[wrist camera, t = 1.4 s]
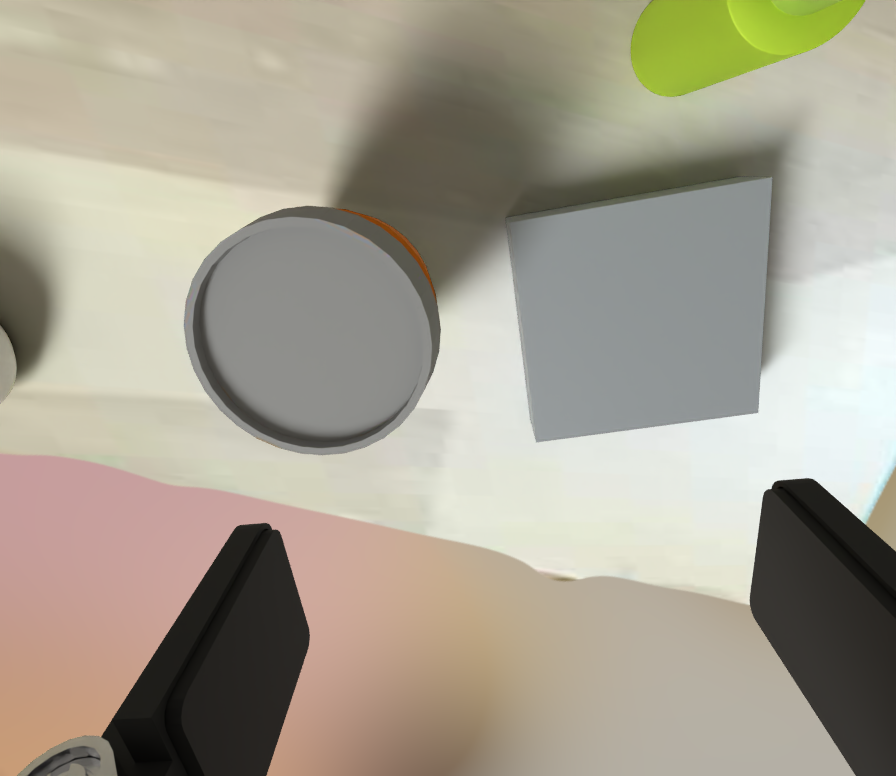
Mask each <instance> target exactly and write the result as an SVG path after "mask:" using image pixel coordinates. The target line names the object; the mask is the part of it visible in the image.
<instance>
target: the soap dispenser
mask: <svg viewBox="0 0 896 776" xmlns="http://www.w3.org/2000/svg"><path fill="white" fill-rule="evenodd" d="M864 2H865V0H653V1H652V2H651V3H650V4H649V5H648V6H647V7H646V8H645V10H644V11H643V13H642V14H641V16H640V18H639V19H638V21H637V24H636V26H635V29H634V32H633V36H632V41H631V60H632V65H633V68H634V71H635V73H636V75H637V77H638V79H639V80H640V82H641V83H642V84H643V85H644V86H645V87H646V88H647V89H648V90H650V91H651V92H653V93H655V94H658V95H661V96H667V97H674V96H681V95H684V94H687V93H690V92H693V91H696V90H699V89H701V88H704V87H707V86H710V85H713V84H716V83H718V82H721V81H724V80H727V79H730V78H733V77H736V76H738V75H741V74H744V73H747V72H750V71H753V70H755V69H758V68H761V67H764V66H767V65H770V64H772V63H775V62H778V61H781V60H784V59H787V58H790V57H792V56H795V55H798V54H801V53H804V52H807V51H809V50H812V49H814V48H816V47H818V46H820V45H822V44H824V43H825V42H827V41H828V40H830V39H831V38H833V37H834V36H835V35H836V34H838V33H839V32H840V31H841V30H842V29H843V28H844V27H845V26H846V25H847V24H848V23H849V22H850V21H851V20H852V19H853V18H854V16H855V15H856V14H857V12H858V11H859V10H860V8H861V7H862V5H863V4H864Z"/></svg>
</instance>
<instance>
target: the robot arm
mask: <svg viewBox="0 0 896 776" xmlns="http://www.w3.org/2000/svg"><path fill="white" fill-rule="evenodd" d="M750 607H751V610H752V614H753V616H754V618H755V620H756V622H757V623H758V625H759V626H760V628H761V629H762V631H763V632H764V634H765V636H766V637H767V639H768V640H769V642H770V643H771V645H772V647H773V648H774V649H775V651H776V653H777V654H778V656H779V657H780V659H781V660H782V662H783V664H784V665H785V667H786V668H787V670H788V671H789V673H790V674H791V676H792V677H793V679H794V680H795V682H796V684H797V685H798V687H799V688H800V690H801V691H802V693H803V695H804V696H805V698H806V699H807V701H808V702H809V704H810V705H811V707H812V708H813V710H814V712H815V713H816V715H817V716H818V718H819V719H820V721H821V722H822V724H823V725H824V727H825V729H826V730H827V732H828V733H829V735H830V736H831V738H832V739H833V741H834V743H835V744H836V745H837V747H838V749H839V750H840V752H841V753H842V755H843V756H844V758H845V760H846V761H847V763H848V764H849V766H850V767H851V769H852V770H853V772H854V774H855V775H856V776H896V551H894V550H893V549H892V548H891V547H890V546H889V545H888V544H887V543H885V542H884V541H883V540H882V539H881V538H880V537H879V536H878V535H876V534H875V533H874V532H873V531H872V530H871V529H869V528H868V527H867V526H866V525H865V524H864V523H863V522H862V521H861V520H859V519H858V518H857V517H856V516H855V515H854V514H853V513H852V512H850V511H849V510H848V509H847V508H846V507H845V506H844V505H843V504H841V503H840V502H839V501H838V500H837V499H836V498H835V497H833V496H832V495H831V494H830V493H829V492H828V491H827V490H826V489H824V488H823V487H822V486H821V485H820V484H819V483H818V482H816V481H815V480H813V479H809V478H805V479H793V480H781V481H777V482H775V483H774V484H773V486H772V489H768V490H766V491H765V492H764V495H763V501H762V509H761V516H760V524H759V532H758V539H757V547H756V555H755V562H754V570H753V577H752V585H751V593H750ZM309 638H310V634H309V627H308V624H307V621H306V617H305V614H304V611H303V607H302V604H301V600H300V597H299V594H298V590H297V587H296V584H295V580H294V577H293V573H292V570H291V567H290V564H289V560H288V557H287V553H286V550H285V547H284V543H283V540H282V537H281V534H280V532H279V531H278V530H272V528H271V526H270V525H269V524H267V523H261V524H249V525H240V526H237V527H236V528H235V529H234V531H233V532H232V534H231V535H230V537H229V539H228V540H227V542H226V543H225V545H224V546H223V548H222V549H221V551H220V553H219V554H218V556H217V557H216V559H215V560H214V562H213V564H212V565H211V567H210V568H209V570H208V571H207V573H206V574H205V576H204V578H203V579H202V581H201V582H200V584H199V585H198V587H197V588H196V590H195V592H194V593H193V595H192V596H191V598H190V599H189V601H188V602H187V604H186V606H185V607H184V609H183V610H182V612H181V614H180V615H179V616H178V618H177V619H176V621H175V623H174V624H173V626H172V627H171V629H170V630H169V632H168V633H167V635H166V637H165V638H164V640H163V641H162V643H161V644H160V646H159V647H158V649H157V651H156V652H155V654H154V655H153V657H152V658H151V660H150V661H149V663H148V665H147V666H146V668H145V669H144V671H143V672H142V674H141V675H140V677H139V679H138V680H137V682H136V683H135V685H134V686H133V688H132V689H131V691H130V692H129V694H128V696H127V697H126V699H125V701H124V702H123V703H122V705H121V707H120V708H119V710H118V711H117V713H116V714H115V716H114V718H113V719H112V721H111V722H110V724H109V725H108V727H107V729H106V730H105V732H104V733H103V735H102V737H99V736H82V737H78V738H74V739H70V740H67V741H65V742H63V743H61V744H59V745H57V746H55V747H53V748H51V749H49V750H48V751H46V752H45V753H44V754H42V755H41V756H39V757H38V758H36V759H35V760H33V761H32V762H31V763H30V764H29V765H28V766H27V767H26V768H25V769H24V770H23V771H21V772H20V773H19V774H18V775H17V776H266V775H267V772H268V769H269V766H270V763H271V760H272V757H273V754H274V751H275V747H276V745H277V742H278V739H279V735H280V732H281V729H282V726H283V723H284V720H285V717H286V714H287V711H288V708H289V705H290V702H291V699H292V696H293V693H294V690H295V687H296V683H297V680H298V678H299V675H300V672H301V669H302V665H303V662H304V659H305V656H306V653H307V650H308V646H309Z"/></svg>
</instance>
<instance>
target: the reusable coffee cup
mask: <svg viewBox="0 0 896 776" xmlns="http://www.w3.org/2000/svg"><path fill="white" fill-rule="evenodd" d="M184 330H185V338H186V346H187V351H188V354H189V357H190V360H191V363H192V366H193V369H194V371H195V373H196V375H197V377H198V379H199V381H200V382H201V384H202V386H203V388H204V390H205V392H206V393H207V394H208V395H209V397H210V398H211V399H212V400H213V402H214V403H215V404H216V405H217V407H218V408H219V409H220V410H221V411H222V412H223V413H224V414H225V415H226V416H227V417H228V418H229V419H231V420H232V421H233V422H234V423H235V424H236V425H237V426H239V427H240V428H242V429H243V430H245V431H246V432H248V433H249V434H251V435H253V436H254V437H256V438H257V439H259V440H262V441H264V442H266V443H269V444H271V445H273V446H276V447H278V448H281V449H285V450H289V451H293V452H297V453H302V454H314V455H330V454H341V453H347V452H350V451H354V450H357V449H361V448H365V447H367V446H369V445H371V444H373V443H375V442H377V441H379V440H381V439H383V438H384V437H386V436H387V435H388V434H390V433H391V432H392V431H393V430H395V429H396V428H397V427H399V426H400V425H401V424H402V423H403V421H404V420H405V419H406V418H407V417H408V416H409V414H410V413H411V412H412V411H413V410H414V408H415V406H416V405H417V403H418V401H419V399H420V397H421V395H422V393H423V391H424V390H425V387H426V385H427V383H428V381H429V379H430V377H431V375H432V373H433V371H434V367H435V364H436V360H437V357H438V353H439V345H440V332H441V328H440V320H439V313H438V306H437V300H436V294H435V291H434V288H433V285H432V282H431V279H430V276H429V273H428V270H427V267H426V265H425V263H424V262H423V260H422V258H421V256H420V255H419V253H418V251H417V250H416V249H415V248H414V246H413V245H412V244H411V243H410V242H409V241H408V239H407V238H406V237H404V236H403V235H402V234H401V233H399V232H398V231H397V230H396V229H394V228H393V227H392V226H390V225H388V224H386V223H384V222H382V221H380V220H378V219H376V218H373V217H370V216H367V215H363V214H360V213H356V212H353V211H350V210H346V209H335V208H328V207H316V206H303V207H295V208H287V209H282V210H279V211H276V212H274V213H271V214H268V215H265V216H263V217H260V218H258V219H257V220H255V221H253V222H252V223H250V224H248V225H247V226H245V227H243V228H242V229H240V230H239V231H237V232H235V233H234V234H232V235H231V236H229V237H228V238H226V239H225V240H223V241H222V242H220V243H219V244H218V245H217V247H216V248H215V249H214V250H213V251H212V252H211V253H210V254H209V255H208V256H207V257H206V258H205V259H204V261H203V263H202V264H201V266H200V268H199V269H198V271H197V273H196V275H195V276H194V278H193V280H192V283H191V286H190V290H189V293H188V296H187V299H186V305H185V317H184Z"/></svg>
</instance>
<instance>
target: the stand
mask: <svg viewBox="0 0 896 776" xmlns="http://www.w3.org/2000/svg"><path fill="white" fill-rule="evenodd" d="M772 178H773V177H735V178H729V179H723V180H718V181H712V182H706V183H701V184H695V185H689V186H683V187H678V188H672V189H666V190H660V191H655V192H649V193H643V194H638V195H632V196H626V197H620V198H615V199H609V200H603V201H597V202H592V203H586V204H580V205H574V206H569V207H563V208H557V209H552V210H546V211H540V212H534V213H529V214H523V215H517V216H511V217H506V225H507V233H508V241H509V250H510V258H511V266H512V274H513V282H514V290H515V299H516V307H517V315H518V323H519V331H520V339H521V348H522V356H523V364H524V372H525V380H526V388H527V397H528V405H529V413H530V420H531V424H532V428H533V432H534V435H535V439H536V442H543V441H550V440H558V439H565V438H573V437H580V436H588V435H595V434H603V433H610V432H618V431H625V430H633V429H640V428H648V427H655V426H663V425H670V424H678V423H685V422H693V421H700V420H708V419H715V418H723V417H730V416H738V415H745V414H753V413H758V407H759V390H760V374H761V358H762V341H763V325H764V309H765V292H766V276H767V260H768V244H769V227H770V211H771V195H772Z"/></svg>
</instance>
